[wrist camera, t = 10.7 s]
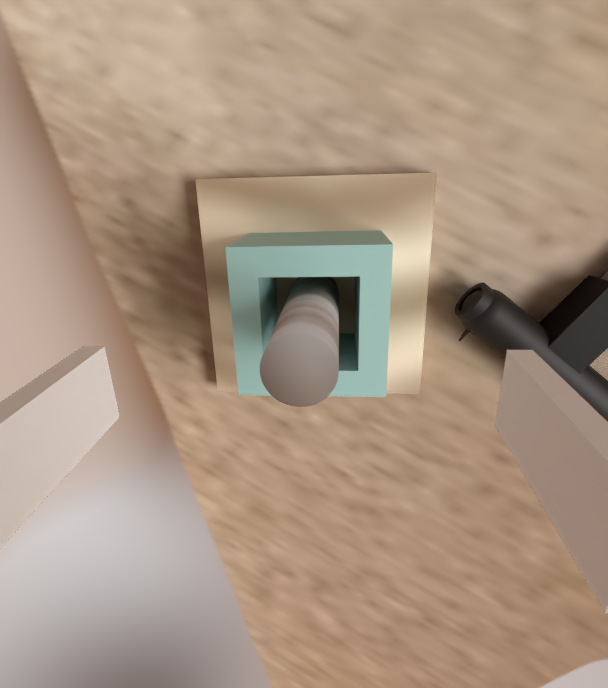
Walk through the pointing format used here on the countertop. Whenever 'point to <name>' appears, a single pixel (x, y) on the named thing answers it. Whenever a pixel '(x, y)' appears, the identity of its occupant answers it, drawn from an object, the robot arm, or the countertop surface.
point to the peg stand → (320, 292)
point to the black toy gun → (548, 333)
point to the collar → (312, 261)
